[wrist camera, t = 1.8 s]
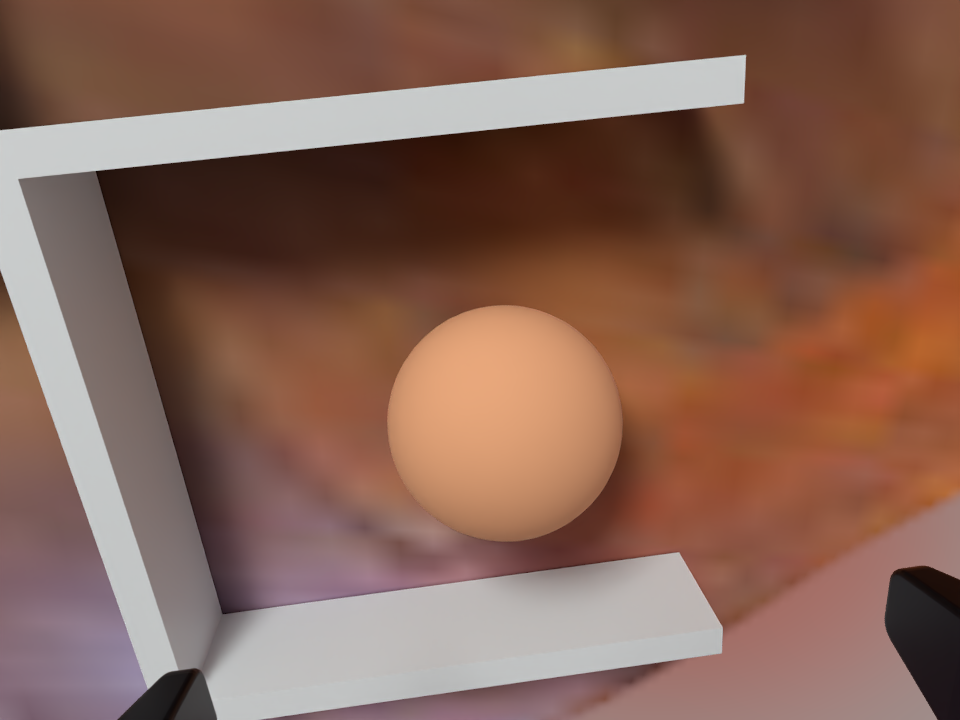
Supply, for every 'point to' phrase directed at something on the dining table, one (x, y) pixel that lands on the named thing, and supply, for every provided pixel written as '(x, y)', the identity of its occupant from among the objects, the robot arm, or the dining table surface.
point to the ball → (505, 423)
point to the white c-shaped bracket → (154, 463)
